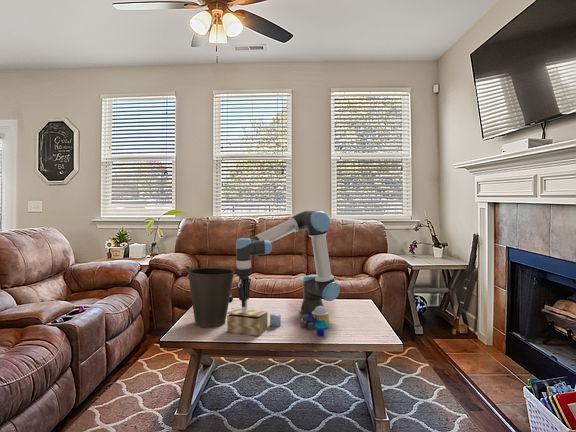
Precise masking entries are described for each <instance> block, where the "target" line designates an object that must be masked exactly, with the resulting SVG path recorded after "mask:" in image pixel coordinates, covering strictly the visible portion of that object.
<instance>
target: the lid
mask: <svg viewBox="0 0 576 432" xmlns="http://www.w3.org/2000/svg"><path fill="white" fill-rule="evenodd" d="M266 313H268V311H266V310H255V309H248V308H247V313H243V312H242V308H238V307H237V308H235V309H233V310H231V311H229V312H228V311H227V315H230V314H234V315H243V316H253V317H260V316H262V315H264V314H266Z"/></svg>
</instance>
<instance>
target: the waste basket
mask: <svg viewBox="0 0 576 432" xmlns="http://www.w3.org/2000/svg"><path fill="white" fill-rule="evenodd" d="M187 274H188V275H187V276H188V280H189V289H190V297H191V303H192V308H193V309H192V310H193V318H194V323H195V325H196V326H197V327H199V328H205V329H208V328H209V329H211V328H213V329H214V328H218V327H222V326H223V325H225V323H226V322H227V316H228V314H227V313H228V310H229V304H230V302H229V298H230V294H232V291H231V290H232V285H233V281H234V280H233V279H234V275H235V270H233V269H230V268H219V267H200V268H199V267H198V268H191V269H188V270H187Z"/></svg>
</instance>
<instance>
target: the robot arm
mask: <svg viewBox="0 0 576 432" xmlns="http://www.w3.org/2000/svg"><path fill="white" fill-rule="evenodd" d="M330 226H331V219H330V216H329V215H328V214H327V213H326V212H324V211H320V210H303V211H302V212H299V213H297V214H294V215H293V216H291V217H289V218H288V220H286V221H284V222H281V223H280V224H277V225H276V226H273V227H271V228H269V229H266V230H264V231H262V232H259V233H258V234H256V235H253V236H251V237H239V238H237V239H236V241H235V255H236V259H235V260H236V261H235V263H236V268H235V269H236V276H237V277H238V283H236V287H237V292H238V300H239V301H241V309H242V312H243V313H247V309H248V301H249V300H250V292H251V291H250V290H251V282H252V278H249V277H250V276H251V275H252V256H253V257H254V256H260V255H269V254H270V253H271V252H272V249H273V248H272V247H273V245H272V243H273V242H276V241H277V240H280V239H282V238H283V237H285V236H288V235H290V234H291V233H293V232H294V233H298V232H301V231H307V235H308V237H310V238H311V239H310V240H311V245H312V251H313V258H314V265H315V273H316V274H309V275H305V276H304V277H303V282H302V283H303V285H302V286H303V291H302V292H303V297H302V298H303V299H302V302H301V305H300V313H302V314H303V315H309V314H310V315H312V312H313V311H314V310H315V308H316V307H317V306H323V307H324V308H325V306H324V303H323V301H326V302H327V301H328V302H332V301H335V300H336V299H337V298H338V296H339V295H340V291H341V290H340V285H339V284H338V282H336V280H335V275H333V274H332V271H331V270H332V269H331V264H330V258H329V257H330V255H329V249H328V243H327V234H328V230H329V228H330Z"/></svg>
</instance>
